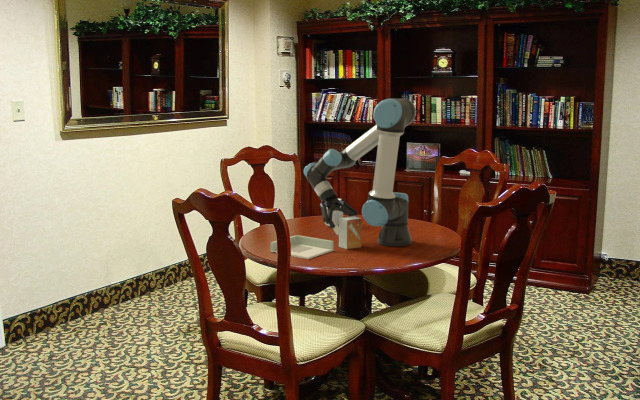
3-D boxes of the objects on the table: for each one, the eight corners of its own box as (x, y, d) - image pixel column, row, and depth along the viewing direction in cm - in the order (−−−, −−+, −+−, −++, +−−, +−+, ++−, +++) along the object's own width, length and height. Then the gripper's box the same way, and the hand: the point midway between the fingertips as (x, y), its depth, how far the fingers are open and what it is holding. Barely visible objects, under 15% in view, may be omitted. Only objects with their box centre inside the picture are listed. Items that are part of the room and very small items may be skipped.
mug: (333, 229, 329) (333, 203, 327) (314, 227, 335) (314, 201, 332) (347, 224, 342) (347, 199, 340) (328, 222, 348) (328, 197, 345)
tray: (333, 250, 287) (333, 240, 286) (308, 259, 273) (308, 249, 272) (296, 244, 299) (296, 235, 298) (270, 252, 284) (270, 242, 283)
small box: (346, 249, 289) (347, 220, 287) (338, 246, 294) (338, 217, 292) (361, 247, 293) (362, 218, 291) (353, 244, 299) (353, 215, 296)
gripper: (341, 195, 312) (364, 231, 303) (301, 201, 294) (325, 240, 286) (349, 185, 307) (373, 221, 299) (309, 190, 290) (334, 230, 282)
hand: (350, 231), depth 292 cm, fingers open, 13 cm apart
